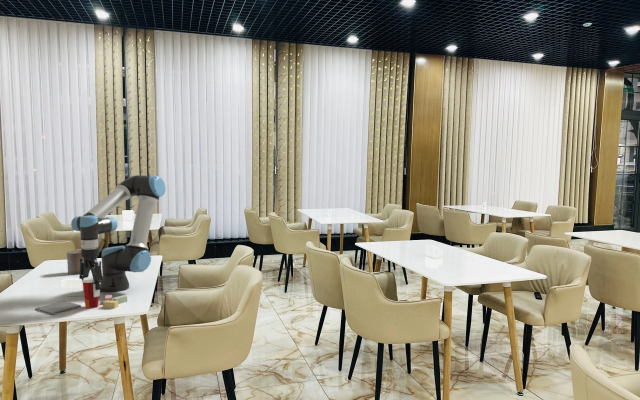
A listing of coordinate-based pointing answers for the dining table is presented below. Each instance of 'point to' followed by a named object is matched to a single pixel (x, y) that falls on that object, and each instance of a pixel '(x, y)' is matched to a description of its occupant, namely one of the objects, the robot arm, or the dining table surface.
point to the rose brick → (108, 297)
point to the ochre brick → (110, 304)
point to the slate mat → (57, 307)
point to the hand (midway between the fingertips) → (91, 295)
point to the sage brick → (120, 299)
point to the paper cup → (89, 293)
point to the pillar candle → (74, 261)
